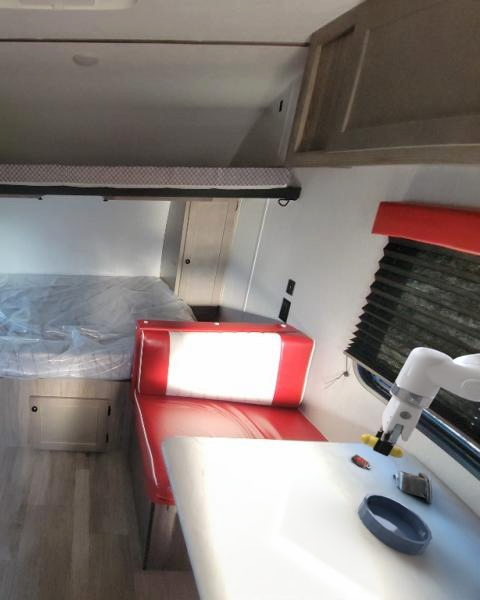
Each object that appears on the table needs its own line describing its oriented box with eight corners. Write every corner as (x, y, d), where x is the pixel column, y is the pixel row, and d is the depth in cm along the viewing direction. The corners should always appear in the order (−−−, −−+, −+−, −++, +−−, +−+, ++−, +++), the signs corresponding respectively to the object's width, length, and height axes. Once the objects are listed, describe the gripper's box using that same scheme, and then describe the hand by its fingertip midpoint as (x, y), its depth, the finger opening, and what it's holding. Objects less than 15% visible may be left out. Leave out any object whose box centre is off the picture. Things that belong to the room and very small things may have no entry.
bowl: (420, 526, 85) (428, 515, 83) (427, 567, 75) (436, 556, 74) (358, 494, 92) (364, 484, 90) (357, 528, 82) (364, 517, 81)
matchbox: (350, 461, 103) (350, 459, 103) (353, 453, 107) (353, 451, 106) (368, 471, 100) (369, 470, 100) (371, 462, 104) (372, 461, 103)
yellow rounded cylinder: (400, 455, 90) (405, 447, 89) (401, 462, 88) (406, 453, 87) (359, 437, 95) (363, 429, 94) (359, 443, 93) (363, 435, 92)
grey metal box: (389, 465, 104) (395, 457, 96) (421, 472, 100) (430, 464, 92) (392, 498, 100) (398, 493, 92) (425, 507, 96) (435, 503, 88)
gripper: (436, 417, 77) (399, 475, 83) (426, 387, 89) (395, 440, 95) (394, 401, 81) (362, 458, 87) (390, 375, 93) (362, 426, 100)
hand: (380, 448), depth 91 cm, fingers closed on yellow rounded cylinder, 3 cm apart
